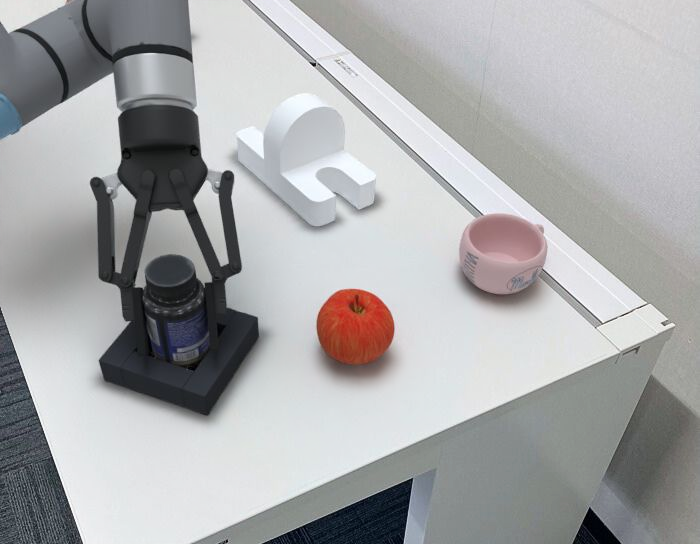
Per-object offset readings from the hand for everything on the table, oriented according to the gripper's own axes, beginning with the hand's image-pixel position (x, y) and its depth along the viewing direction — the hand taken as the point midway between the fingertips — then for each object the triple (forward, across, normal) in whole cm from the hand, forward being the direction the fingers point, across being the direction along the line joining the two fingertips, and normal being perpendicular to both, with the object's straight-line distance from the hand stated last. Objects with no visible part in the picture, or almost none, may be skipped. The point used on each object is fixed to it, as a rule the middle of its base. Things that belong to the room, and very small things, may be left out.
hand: (179, 351), depth 75 cm
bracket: (-21, -16, -28) cm, 38 cm away
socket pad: (+1, 0, -6) cm, 6 cm away
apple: (+2, -18, -5) cm, 19 cm away
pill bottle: (0, 0, -5) cm, 5 cm away
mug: (-6, -38, -13) cm, 40 cm away
